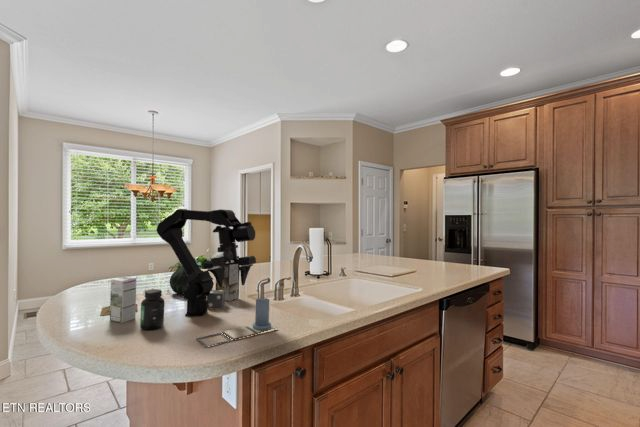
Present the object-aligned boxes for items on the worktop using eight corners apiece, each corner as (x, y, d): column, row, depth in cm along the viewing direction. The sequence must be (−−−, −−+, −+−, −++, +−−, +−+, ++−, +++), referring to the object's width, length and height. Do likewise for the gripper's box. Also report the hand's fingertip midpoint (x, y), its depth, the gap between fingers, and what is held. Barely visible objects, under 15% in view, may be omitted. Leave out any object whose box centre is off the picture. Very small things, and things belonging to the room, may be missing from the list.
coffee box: (239, 298, 145) (240, 262, 145) (228, 301, 139) (229, 264, 140) (225, 295, 150) (226, 260, 150) (214, 298, 144) (215, 262, 144)
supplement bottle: (138, 332, 101) (140, 293, 101) (141, 325, 107) (142, 289, 107) (163, 329, 103) (164, 292, 103) (164, 323, 110) (165, 288, 110)
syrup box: (136, 318, 114) (137, 277, 114) (120, 323, 108) (122, 280, 108) (124, 316, 115) (125, 276, 116) (108, 321, 110) (110, 278, 110)
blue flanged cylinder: (257, 331, 102) (258, 303, 102) (249, 326, 107) (250, 299, 107) (274, 328, 106) (275, 300, 106) (265, 322, 111) (266, 296, 111)
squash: (184, 277, 162) (174, 257, 153) (212, 280, 160) (204, 260, 151) (170, 301, 152) (159, 281, 142) (200, 304, 150) (190, 285, 140)
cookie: (101, 308, 125) (101, 306, 125) (137, 305, 131) (137, 302, 131) (98, 317, 115) (98, 314, 115) (137, 313, 121) (137, 310, 121)
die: (206, 308, 128) (207, 293, 128) (210, 304, 134) (210, 289, 134) (221, 308, 129) (222, 293, 129) (224, 304, 135) (225, 289, 135)
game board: (205, 347, 90) (206, 345, 90) (195, 339, 96) (196, 336, 96) (278, 330, 106) (278, 327, 106) (265, 323, 112) (265, 321, 112)
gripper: (191, 247, 113) (196, 292, 112) (238, 242, 108) (243, 288, 107) (210, 245, 123) (214, 286, 123) (254, 240, 118) (258, 282, 118)
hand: (232, 286), depth 117 cm, fingers open, 9 cm apart
